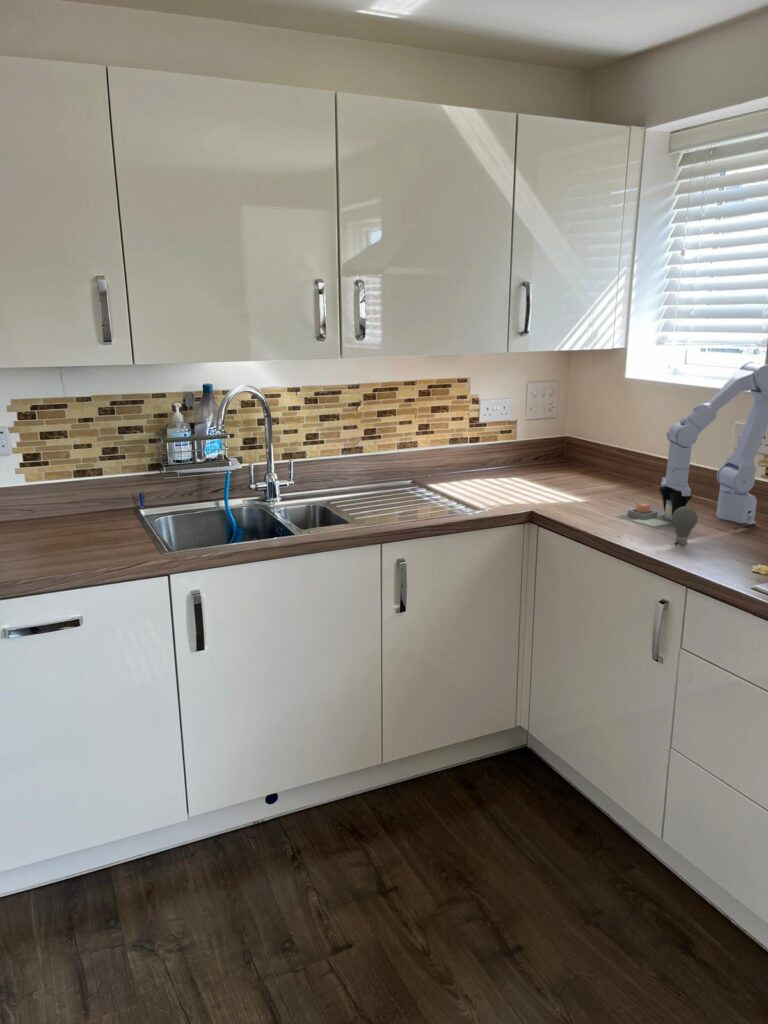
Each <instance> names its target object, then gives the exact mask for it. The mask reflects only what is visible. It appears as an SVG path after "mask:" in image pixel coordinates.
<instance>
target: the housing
mask: <svg viewBox="0 0 768 1024" xmlns="http://www.w3.org/2000/svg"><path fill="white" fill-rule="evenodd" d="M615 517H616V518H619V519H621V520H625V521H628V522H633V523H635V524H638V525H641V526H644V527H645V526H646V527H648V528H653V529H655V530H658V529H663V528H667V527H673V526H674V524H673V522H672V520H670V519H666V518H665V512H664V510H661V509H658V508H652V509H651V508H650V513H647V514H642V513H638V512H636V508H634V509H633V508H631V509H628V510H627V513H626V514H621V515H617V516H615Z"/></svg>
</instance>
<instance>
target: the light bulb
mask: <svg viewBox="0 0 768 1024" xmlns="http://www.w3.org/2000/svg"><path fill="white" fill-rule="evenodd" d="M671 521H672V522H673V524H674V525H673V526H674V528H675V535H676V542H675V543H676V544H677V545H679V546H685V545H687V544H688V538H689V536H690V534H691V531H692V530H693V529H694V528H695V526H696V525H697V522H698V514H697V513H696V511H695V510H694V509H693V508H692V507H689V506H685V507H680V508H678V509H677V510H675V511H674V513H673V515H672V520H671Z"/></svg>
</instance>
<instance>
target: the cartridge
mask: <svg viewBox="0 0 768 1024" xmlns="http://www.w3.org/2000/svg"><path fill="white" fill-rule="evenodd" d="M664 519H667V520H671V521H672V502H671V500H666V509H665V516H664Z"/></svg>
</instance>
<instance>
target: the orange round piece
mask: <svg viewBox="0 0 768 1024" xmlns="http://www.w3.org/2000/svg"><path fill="white" fill-rule="evenodd" d="M635 509H636V512H638V513H642V514H647V513H650V509H651V504H649V503H644V502H638V503H636V508H635Z"/></svg>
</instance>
